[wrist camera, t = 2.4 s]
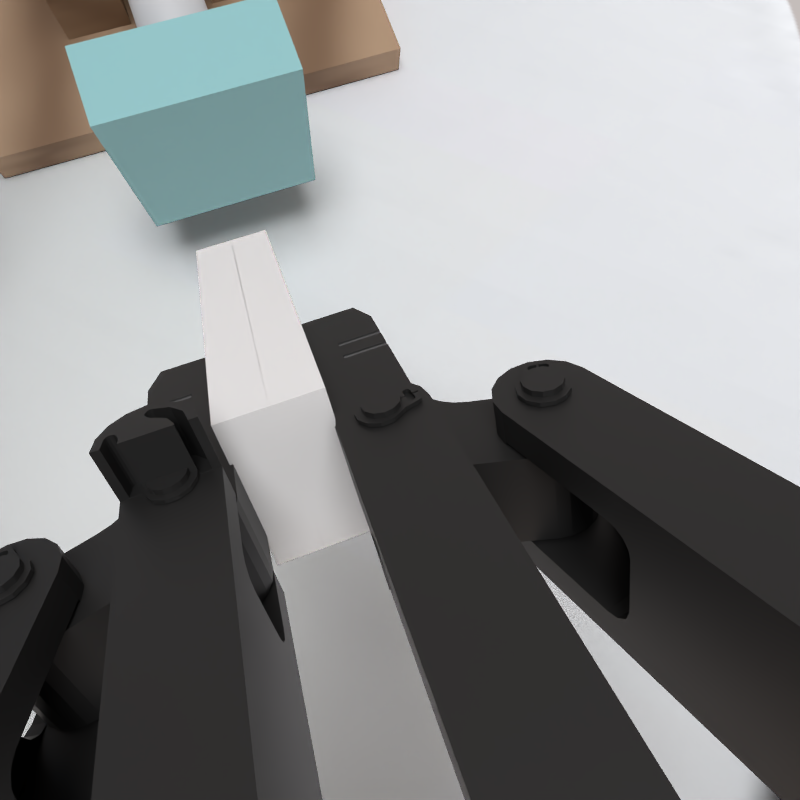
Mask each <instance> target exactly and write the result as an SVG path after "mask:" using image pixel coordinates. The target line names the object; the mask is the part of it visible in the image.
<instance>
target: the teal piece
mask: <svg viewBox="0 0 800 800" xmlns="http://www.w3.org/2000/svg"><path fill="white" fill-rule="evenodd" d="M128 2H129V5H130V8H131V11H132V14H133V17H134V20H135V23H136V26H137V28H134V29H130V30H126V31H122V32H118V33H114V34H110V35H106V36H102V37H99V38H95V39H91V40H87V41H83V42H79V43H75V44H71V45H67V46H65V49H66V52H67V55H68V58H69V61H70V65H71V68H72V71H73V74H74V77H75V80H76V84H77V87H78V90H79V93H80V96H81V100H82V103H83V106H84V109H85V112H86V115H87V119H88V122H89V125H90V127H91V129H92V130H93V132H94V133H95V135H96V136H97V138H98V139H99V141H100V142H101V144H102V145H103V147H104V148H105V150H106V151H107V153H108V154H109V156H110V157H111V159H112V160H113V162H114V163H115V165H116V166H117V168H118V169H119V171H120V172H121V174H122V175H123V177H124V178H125V180H126V181H127V183H128V184H129V186H130V187H131V189H132V190H133V192H134V193H135V195H136V196H137V198H138V199H139V200H140V202H141V203H142V205H143V206H144V208H145V209H146V211H147V212H148V214H149V215H150V217H151V218H152V220H153V221H154V223H155V224H156V226H160V225H164V224H167V223H170V222H174V221H177V220H180V219H184V218H187V217H191V216H194V215H197V214H201V213H204V212H208V211H211V210H214V209H218V208H221V207H224V206H228V205H231V204H235V203H238V202H241V201H245V200H248V199H252V198H255V197H258V196H262V195H265V194H268V193H272V192H275V191H279V190H282V189H285V188H289V187H292V186H296V185H299V184H302V183H306V182H309V181H312V180H315V173H314V164H313V155H312V146H311V137H310V129H309V120H308V111H307V102H306V93H305V84H304V75H303V68H302V66H301V63H300V60H299V58H298V55H297V52H296V50H295V47H294V44H293V42H292V39H291V36H290V34H289V31H288V28H287V26H286V23H285V20H284V18H283V15H282V12H281V10H280V7H279V4H278V2H277V0H244V1H240V2H236V3H232V4H229V5H225V6H221V7H217V8H213V9H209V10H208V9H207V6H206V3H205V1H204V0H128Z"/></svg>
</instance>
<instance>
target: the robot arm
mask: <svg viewBox="0 0 800 800" xmlns="http://www.w3.org/2000/svg"><path fill="white" fill-rule="evenodd" d="M196 257H197V269H198V280H199V292H200V304H201V315H202V327H203V339H204V350H205V358H202V359H199V360H196V361H193V362H190V363H187V364H184V365H181V366H178V367H174V368H171V369H168V370H165V371H162V372H161V373H160V374H159V376H158V377H157V379H156V380H155V382H154V383H153V385H152V386H151V388H150V389H149V391H148V404H147V406H144V407H142V408H139V409H137V410H135V411H132V412H130V413H128V414H126V415H124V416H123V417H121V418H120V419H118V420H117V421H115V422H114V423H112V424H111V425H109V426H108V427H107V428H106V429H105V430H104V431H103V432H102V433H101V434H100V435H99V436H98V437H97V438H96V439H95V441H94V443H93V446H92V448H91V450H90V452H89V454H90V456H91V457H92V459H93V460H94V462H95V463H96V465H97V467H98V468H99V470H100V471H101V473H102V474H103V476H104V477H105V479H106V480H107V482H108V484H109V485H110V487H111V488H112V490H113V491H114V493H115V494H116V496H117V498H118V499H119V501H120V509H119V519H118V520H116V521H115V522H114V523H113V524H112V525H110V526H109V527H107V528H106V529H104V530H103V531H101V532H100V533H98V534H97V535H95V536H93V537H92V538H90V539H88V540H86V541H85V542H83V543H81V544H80V545H78V546H76V547H74V548H73V549H71V550H69V551H68V552H66V553H64V552H63V551H62V550H61V549H60V547H59V546H58V545H57V544H56V543H54V542H52V541H50V540H48V539H46V538H37V539H25V540H22V541H19V542H16V543H13V544H10V545H6V546H5V547H3V548H1V549H0V800H322V795H321V789H320V784H319V778H318V773H317V768H316V762H315V757H314V752H313V746H312V741H311V735H310V730H309V725H308V719H307V714H306V709H305V703H304V698H303V693H302V687H301V682H300V676H299V671H298V666H297V660H296V655H295V650H294V644H293V639H292V633H291V628H290V623H289V617H288V612H287V607H286V601H285V596H284V592H283V590H282V588H281V586H280V584H279V582H278V580H277V578H276V575H275V573H274V571H273V567H272V561H271V556H270V550H271V552H272V554H273V556H274V558H275V561H276V563H277V565H280V564H283V563H286V562H288V561H291V560H294V559H296V558H299V557H302V556H305V555H307V554H310V553H313V552H315V551H318V550H321V549H324V548H326V547H329V546H332V545H334V544H337V543H340V542H343V541H345V540H348V539H351V538H353V537H356V536H359V535H362V534H364V533H367V532H371V535H372V538H373V541H374V544H375V547H376V550H377V553H378V556H379V559H380V562H381V565H382V568H383V571H384V574H385V577H386V580H387V583H388V586H389V589H390V590H391V593H392V596H393V598H394V601H395V604H396V607H397V610H398V612H399V615H400V618H401V621H402V624H403V626H404V629H405V632H406V635H407V638H408V641H409V643H410V646H411V649H412V652H413V655H414V657H415V660H416V663H417V666H418V669H419V671H420V674H421V677H422V680H423V683H424V686H425V688H426V691H427V694H428V697H429V700H430V702H431V705H432V708H433V711H434V714H435V716H436V719H437V722H438V725H439V728H440V731H441V733H442V736H443V739H444V742H445V745H446V747H447V750H448V753H449V756H450V759H451V761H452V764H453V767H454V770H455V773H456V776H457V778H458V781H459V784H460V787H461V790H462V792H463V795H464V798H465V800H681V799H680V798H679V796H678V795H677V793H676V791H675V790H674V788H673V787H672V785H671V783H670V782H669V780H668V778H667V777H666V775H665V774H664V772H663V770H662V769H661V767H660V766H659V764H658V762H657V761H656V759H655V758H654V756H653V754H652V753H651V751H650V749H649V748H648V746H647V745H646V743H645V741H644V740H643V738H642V737H641V735H640V733H639V732H638V730H637V728H636V727H635V725H634V724H633V722H632V720H631V719H630V717H629V716H628V714H627V712H626V711H625V709H624V708H623V706H622V704H621V703H620V701H619V699H618V698H617V696H616V695H615V693H614V691H613V690H612V688H611V687H610V685H609V683H608V682H607V680H606V678H605V677H604V675H603V674H602V672H601V670H600V669H599V667H598V666H597V664H596V662H595V661H594V659H593V658H592V656H591V654H590V653H589V651H588V649H587V648H586V646H585V645H584V643H583V641H582V640H581V638H580V637H579V635H578V633H577V632H576V630H575V628H574V627H573V625H572V624H571V622H570V620H569V619H568V617H567V616H566V614H565V612H564V611H563V609H562V608H561V606H560V604H559V603H558V601H557V599H556V598H555V596H554V595H553V593H552V591H551V590H550V588H549V587H548V585H547V583H546V582H545V580H544V578H543V577H542V575H541V574H540V572H539V570H538V569H537V567H538V568H539V569H540V570H541V571H542V572H543V573H544V574H545V575H546V576H547V577H548V578H549V579H550V580H551V581H552V582H553V583H554V584H555V585H556V586H558V587H559V588H560V589H561V590H562V591H563V592H564V593H565V594H566V595H567V596H568V597H569V598H570V599H571V600H572V601H573V602H574V603H575V604H576V605H577V606H579V607H580V608H581V609H582V610H583V611H584V612H585V613H586V614H587V615H588V616H589V617H590V618H591V619H592V620H593V621H594V622H595V623H596V624H597V625H599V626H600V627H601V628H602V629H603V630H604V631H605V632H606V633H607V634H608V635H609V636H610V637H611V638H612V639H613V640H614V641H615V642H616V643H617V644H618V645H620V646H621V647H622V648H623V649H624V650H625V651H626V652H627V653H628V654H629V655H630V656H631V657H632V658H633V659H634V660H635V661H636V662H637V663H638V664H639V665H641V666H642V667H643V668H644V669H645V670H646V671H647V672H648V673H649V674H650V675H651V676H652V677H653V678H654V679H655V680H656V681H657V682H658V683H659V684H661V685H662V686H663V687H664V688H665V689H666V690H667V691H668V692H669V693H670V694H671V695H672V696H673V697H674V698H675V699H676V700H677V701H678V702H679V703H680V704H682V705H683V706H684V707H685V708H686V709H687V710H688V711H689V712H690V713H691V714H692V715H693V716H694V717H695V718H696V719H697V720H698V721H699V722H700V723H701V724H703V725H704V726H705V727H706V728H707V729H708V730H709V731H710V732H711V733H712V734H713V735H714V736H715V737H716V738H717V739H718V740H719V741H720V742H721V743H722V744H724V745H725V746H726V747H727V748H728V749H729V750H730V751H731V752H732V753H733V754H734V755H735V756H736V757H737V758H738V759H739V760H740V761H741V762H742V763H744V764H745V765H746V766H747V767H748V768H749V769H750V770H751V771H752V772H753V773H754V774H755V775H756V776H757V777H758V778H759V779H760V780H761V781H762V782H763V783H765V784H766V785H767V786H768V787H769V788H770V789H771V790H772V791H773V792H774V793H775V794H776V795H777V796H778V797H779V798H780V799H781V800H800V487H799V486H797V485H795V484H793V483H792V482H790V481H788V480H786V479H784V478H783V477H781V476H779V475H777V474H775V473H773V472H772V471H770V470H768V469H766V468H764V467H763V466H761V465H759V464H757V463H755V462H753V461H752V460H750V459H748V458H746V457H744V456H743V455H741V454H739V453H737V452H735V451H733V450H732V449H730V448H728V447H726V446H724V445H723V444H721V443H719V442H717V441H715V440H713V439H712V438H710V437H708V436H706V435H704V434H703V433H701V432H699V431H697V430H695V429H694V428H692V427H690V426H688V425H686V424H684V423H683V422H681V421H679V420H677V419H675V418H674V417H672V416H670V415H668V414H666V413H664V412H663V411H661V410H659V409H657V408H655V407H654V406H652V405H650V404H648V403H646V402H644V401H643V400H641V399H639V398H637V397H635V396H634V395H632V394H630V393H628V392H626V391H624V390H623V389H621V388H619V387H617V386H615V385H614V384H612V383H610V382H608V381H606V380H605V379H603V378H601V377H599V376H597V375H595V374H594V373H592V372H590V371H588V370H586V369H585V368H583V367H580V366H577V365H574V364H572V363H569V362H566V361H555V360H542V361H534V362H527V363H525V364H522V365H519V366H517V367H514V368H511V369H510V370H508V371H507V372H506V373H504V374H503V375H502V376H500V377H499V378H498V379H497V381H496V383H495V384H494V386H493V388H492V399H488V400H480V401H472V402H458V403H451V402H441V401H437V400H433V399H432V398H431V396H430V395H429V394H428V393H427V392H426V391H425V390H424V389H423V388H422V387H420V386H418V385H415V384H412V383H410V381H409V379H408V378H407V376H406V374H405V373H404V371H403V369H402V367H401V366H400V364H399V362H398V361H397V359H396V357H395V356H394V354H393V352H392V351H391V349H390V347H389V346H388V344H387V343H386V341H385V339H384V337H383V336H382V334H381V333H380V331H379V329H378V327H377V326H376V324H375V322H374V321H373V319H372V317H371V316H369V315H367V314H365V313H363V312H361V311H359V310H356V309H354V308H351V309H348V310H344V311H341V312H338V313H335V314H332V315H329V316H326V317H323V318H320V319H316V320H313V321H310V322H307V323H304V324H301V322H300V320H299V317H298V314H297V312H296V309H295V306H294V304H293V301H292V298H291V296H290V293H289V291H288V288H287V285H286V283H285V280H284V277H283V275H282V272H281V269H280V267H279V264H278V261H277V259H276V256H275V253H274V251H273V248H272V246H271V243H270V240H269V238H268V235H267V232H266V230H263V231H260V232H256V233H253V234H250V235H247V236H243V237H240V238H237V239H233V240H230V241H227V242H223V243H220V244H217V245H213V246H210V247H207V248H203V249H200V250H197V251H196ZM269 548H270V550H269ZM536 566H537V567H536ZM32 710H33V711H34V712H35V713H36V716H35V718H34V720H33V723H32V725H31V727H30V728H29V730H28V731H27V733H26V735H25V736H24V737H21V736H22V733H23V731H24V728H25V726H26V724H27V721H28V719H29V716H30V714H31V712H32Z"/></svg>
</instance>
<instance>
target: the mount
mask: <svg viewBox="0 0 800 800" xmlns="http://www.w3.org/2000/svg"><path fill="white" fill-rule="evenodd" d="M204 1H205V3H206V6H207V9H208V10H209V9H213V8H217V7H221V6H225V5H229V4H232V3H236V2H240V1H244V0H204ZM277 2H278V4H279V7H280V10H281V12H282V15H283V18H284V20H285V23H286V26H287V28H288V31H289V34H290V36H291V39H292V42H293V44H294V47H295V50H296V52H297V55H298V58H299V60H300V63H301V66H302V68H303V75H304V84H305V93H306V95H307V94H311V93H314V92H318V91H322V90H325V89H329V88H332V87H336V86H340V85H343V84H347V83H350V82H354V81H358V80H361V79H365V78H368V77H372V76H376V75H379V74H383V73H387V72H390V71H394V70H397V69H398V67H399V57H400V46H399V44H398V41H397V39H396V36H395V34H394V31H393V29H392V26H391V24H390V22H389V19H388V17H387V14H386V12H385V9H384V7H383V4H382V2H381V0H277ZM134 28H137V26H136V23H135V20H134V17H133V14H132V11H131V8H130V5H129V2H128V0H0V173H1V174H2V175H3V176H4V177H5V178H8V177H11V176H15V175H18V174H22V173H26V172H29V171H33V170H36V169H40V168H44V167H47V166H51V165H54V164H58V163H62V162H65V161H69V160H73V159H76V158H80V157H83V156H87V155H91V154H94V153H98V152H101V151H105V148H104V147H103V145H102V144H101V142H100V141H99V139H98V138H97V136H96V135H95V133H94V132H93V130H92V129H91V127H90V125H89V122H88V119H87V115H86V112H85V109H84V106H83V103H82V100H81V96H80V93H79V90H78V87H77V84H76V80H75V77H74V74H73V71H72V68H71V65H70V61H69V58H68V55H67V52H66V49H65V46H67V45H71V44H75V43H79V42H83V41H87V40H91V39H95V38H99V37H102V36H106V35H110V34H114V33H118V32H122V31H126V30H130V29H134Z"/></svg>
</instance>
